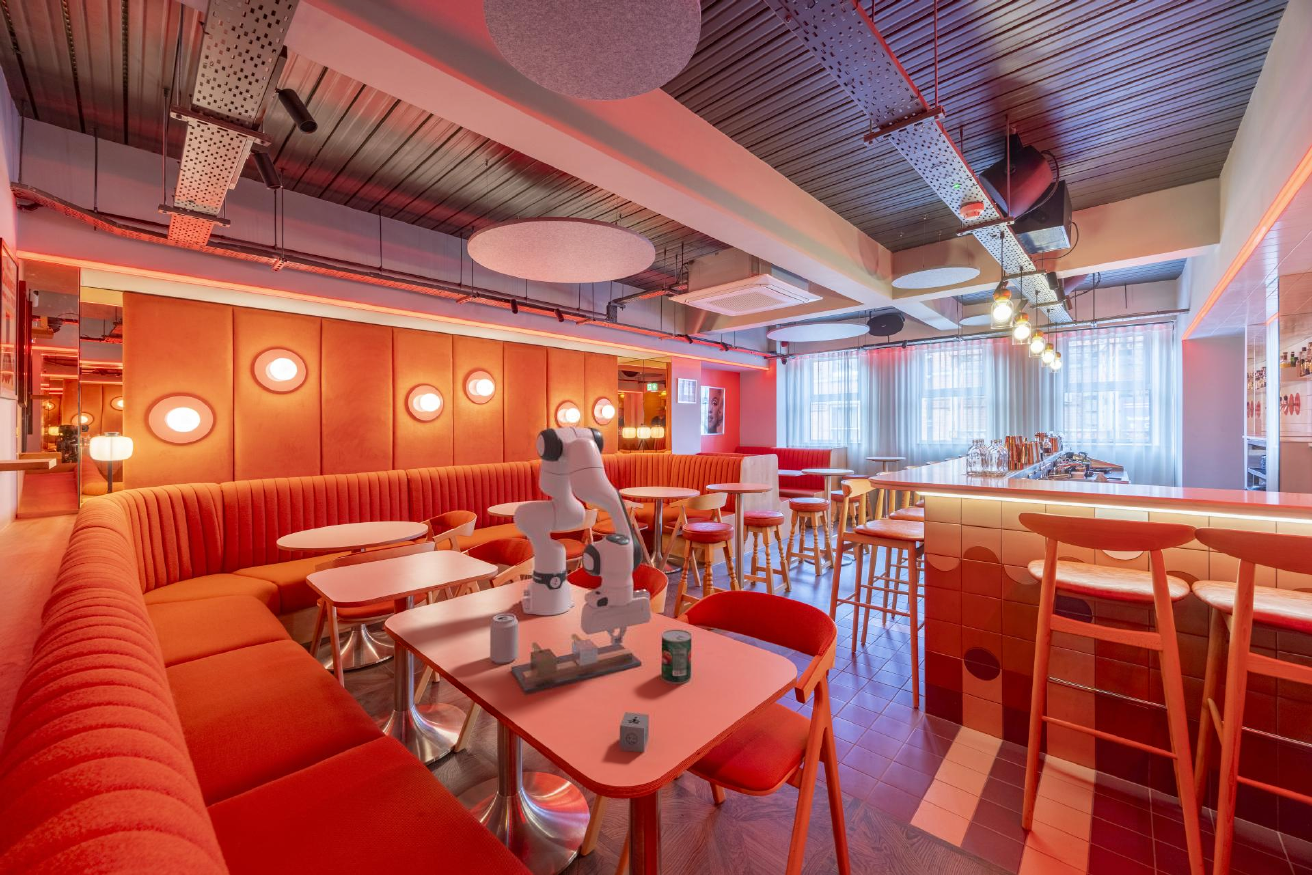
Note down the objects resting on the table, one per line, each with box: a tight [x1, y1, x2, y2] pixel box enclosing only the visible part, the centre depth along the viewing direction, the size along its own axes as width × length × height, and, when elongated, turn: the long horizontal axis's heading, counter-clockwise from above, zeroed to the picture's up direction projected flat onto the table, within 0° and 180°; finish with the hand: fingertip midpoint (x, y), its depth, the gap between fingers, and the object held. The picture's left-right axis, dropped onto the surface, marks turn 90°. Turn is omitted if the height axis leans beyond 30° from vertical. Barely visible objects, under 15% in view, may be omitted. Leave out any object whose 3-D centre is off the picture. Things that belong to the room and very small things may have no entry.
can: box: [489, 613, 519, 665], centre depth 143 cm, size 8×8×12 cm
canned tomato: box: [660, 629, 693, 685], centre depth 134 cm, size 8×8×11 cm
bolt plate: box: [510, 642, 643, 695], centre depth 138 cm, size 14×32×6 cm, turn 120°
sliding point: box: [570, 633, 599, 666], centre depth 140 cm, size 12×5×5 cm, turn 30°
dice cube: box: [619, 711, 650, 753], centre depth 105 cm, size 5×5×5 cm
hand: (616, 643), depth 142 cm, fingers closed
